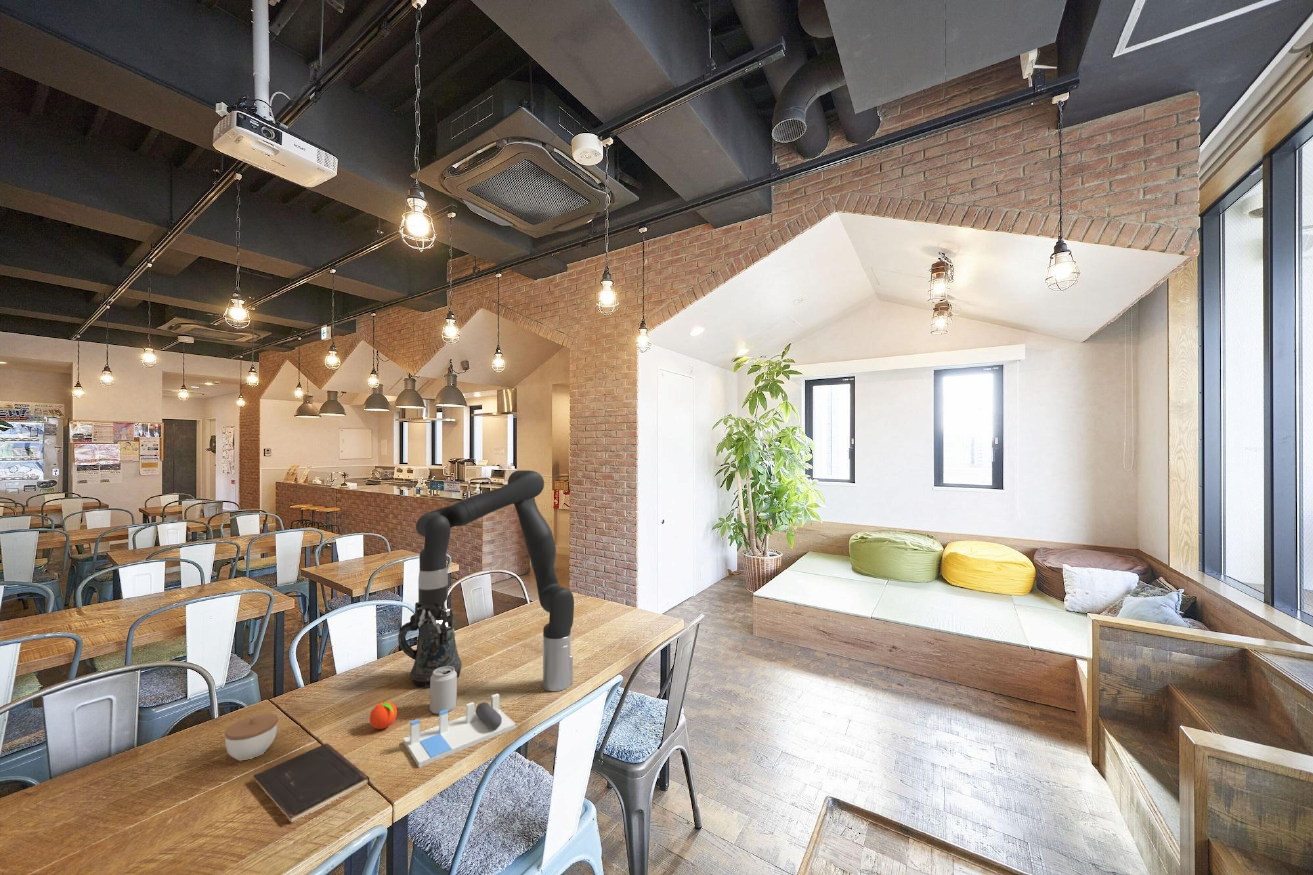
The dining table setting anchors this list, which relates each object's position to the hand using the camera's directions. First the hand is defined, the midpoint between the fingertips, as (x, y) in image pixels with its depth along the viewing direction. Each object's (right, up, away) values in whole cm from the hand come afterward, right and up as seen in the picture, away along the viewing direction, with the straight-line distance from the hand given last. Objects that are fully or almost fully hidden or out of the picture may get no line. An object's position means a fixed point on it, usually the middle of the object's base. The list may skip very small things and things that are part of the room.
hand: (433, 642), depth 136 cm
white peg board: (+8, -26, -1) cm, 27 cm away
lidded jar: (-44, -26, -9) cm, 51 cm away
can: (-3, -27, +13) cm, 30 cm away
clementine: (-15, -26, +3) cm, 30 cm away
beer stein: (-15, -27, +33) cm, 45 cm away
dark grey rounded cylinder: (+14, -25, +4) cm, 29 cm away
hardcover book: (-20, -26, -20) cm, 38 cm away
